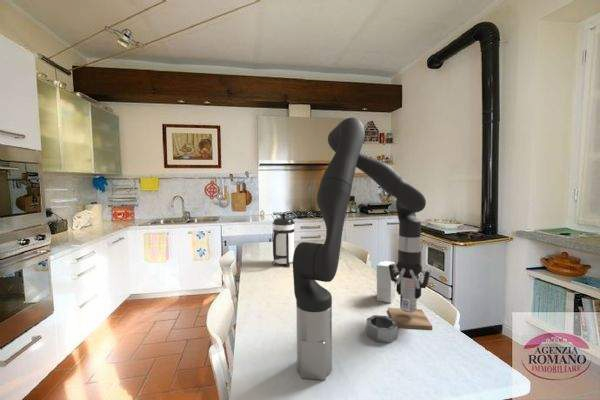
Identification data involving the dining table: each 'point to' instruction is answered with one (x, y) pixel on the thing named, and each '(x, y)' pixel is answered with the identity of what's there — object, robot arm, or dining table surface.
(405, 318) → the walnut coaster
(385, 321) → the metal collar
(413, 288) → the energy drink
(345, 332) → the dining table surface
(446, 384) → the dining table surface
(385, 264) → the skincare box
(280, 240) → the coffee press
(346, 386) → the dining table surface
